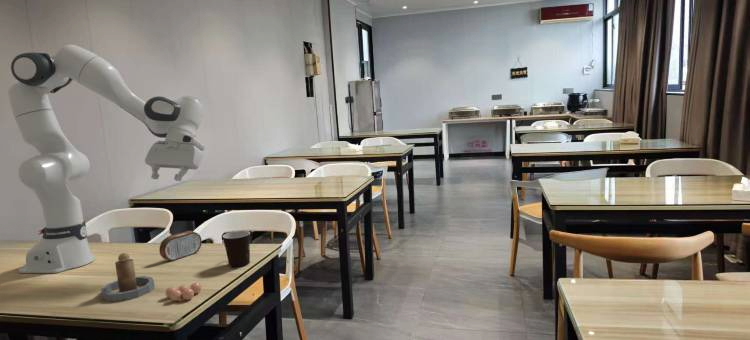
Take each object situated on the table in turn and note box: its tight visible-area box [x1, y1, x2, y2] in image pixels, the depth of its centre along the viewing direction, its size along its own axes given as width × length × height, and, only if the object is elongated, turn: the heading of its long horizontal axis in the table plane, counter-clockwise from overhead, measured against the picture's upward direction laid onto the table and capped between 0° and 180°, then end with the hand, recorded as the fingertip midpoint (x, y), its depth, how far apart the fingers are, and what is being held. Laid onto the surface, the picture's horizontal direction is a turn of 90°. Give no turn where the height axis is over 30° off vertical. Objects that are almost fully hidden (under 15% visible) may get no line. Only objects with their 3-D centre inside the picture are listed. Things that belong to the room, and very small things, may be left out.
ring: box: [101, 275, 155, 302], centre depth 141 cm, size 13×13×2 cm
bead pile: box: [165, 282, 202, 302], centre depth 134 cm, size 9×7×3 cm
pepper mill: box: [114, 252, 138, 292], centre depth 140 cm, size 5×5×12 cm
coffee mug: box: [222, 230, 251, 269], centre depth 160 cm, size 12×9×10 cm
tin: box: [159, 230, 202, 261], centre depth 170 cm, size 15×3×8 cm, turn 144°
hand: (165, 179), depth 161 cm, fingers open, 8 cm apart
